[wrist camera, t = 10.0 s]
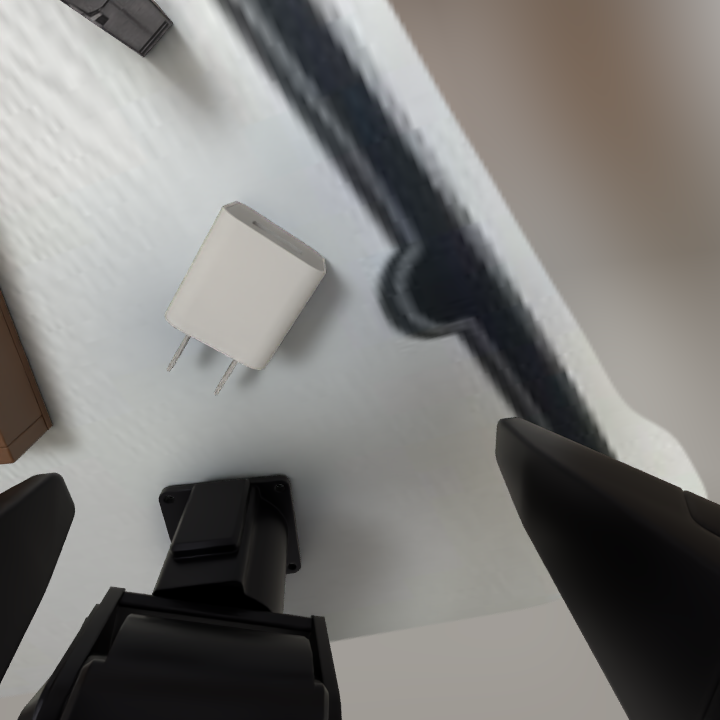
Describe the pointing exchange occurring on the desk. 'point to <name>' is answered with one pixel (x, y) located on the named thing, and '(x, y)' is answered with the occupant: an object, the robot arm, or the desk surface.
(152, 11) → the mini dv tape
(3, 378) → the tray
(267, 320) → the usb wall charger
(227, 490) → the robot arm
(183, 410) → the desk surface
